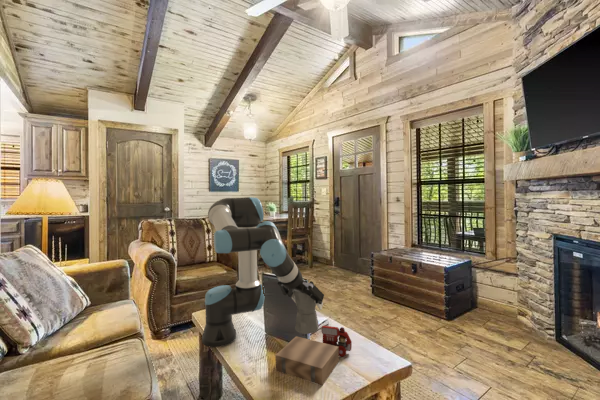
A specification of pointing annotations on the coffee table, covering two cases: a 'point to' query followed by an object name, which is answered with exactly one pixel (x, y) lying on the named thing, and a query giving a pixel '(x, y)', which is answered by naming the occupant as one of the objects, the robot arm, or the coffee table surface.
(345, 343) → the toy fire truck
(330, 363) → the brown wooden block
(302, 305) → the coffeepot
